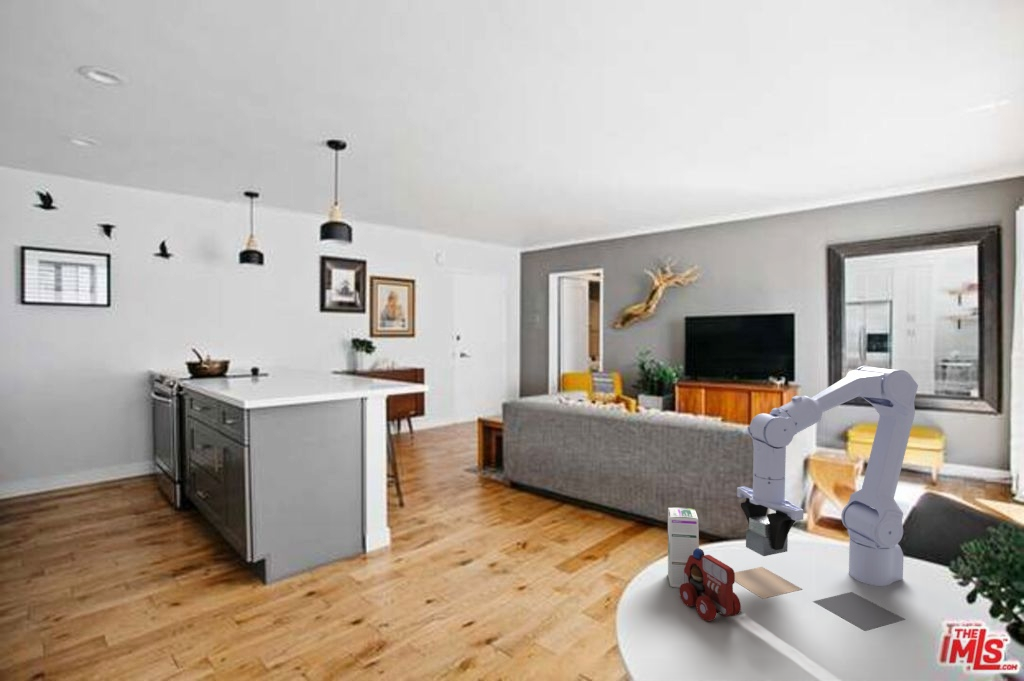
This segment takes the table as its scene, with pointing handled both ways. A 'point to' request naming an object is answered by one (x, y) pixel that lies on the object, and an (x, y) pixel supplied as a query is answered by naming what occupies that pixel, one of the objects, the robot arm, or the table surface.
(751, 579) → the stand
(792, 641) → the table surface
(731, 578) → the toy fire truck
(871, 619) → the stand
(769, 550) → the housing
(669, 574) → the syrup box
